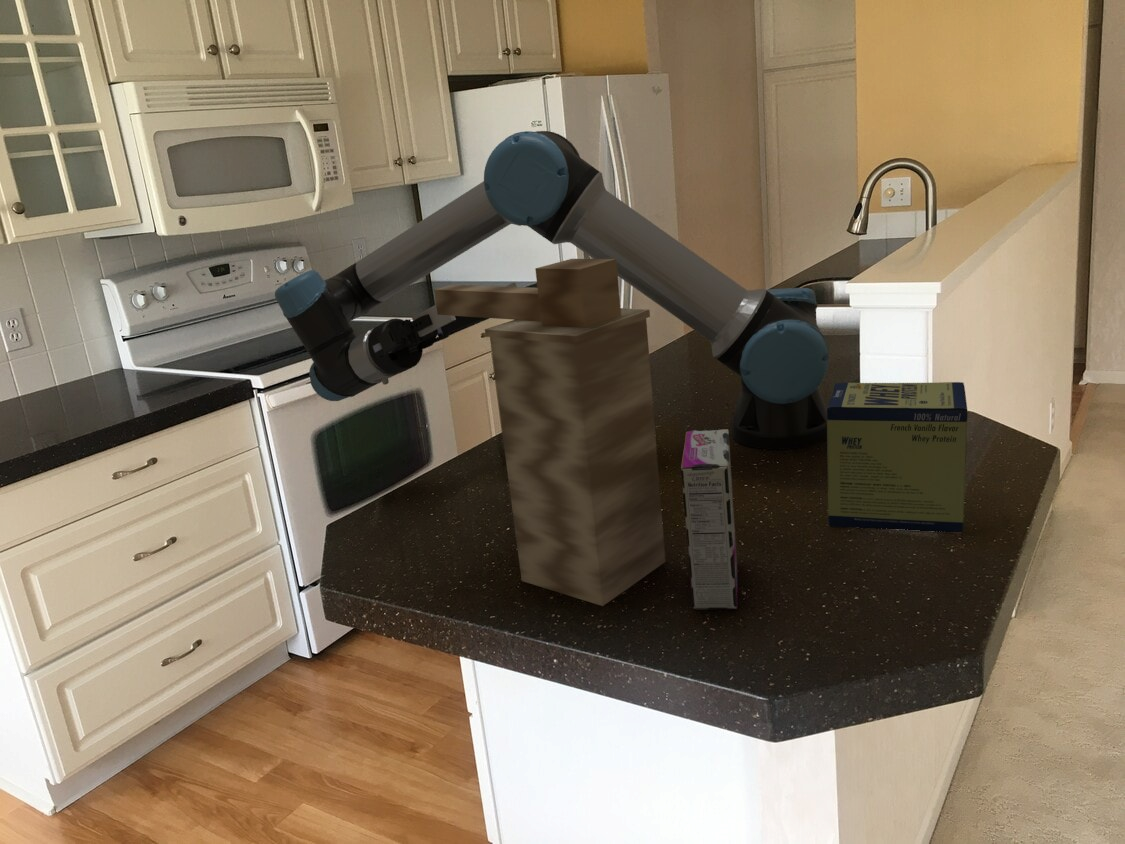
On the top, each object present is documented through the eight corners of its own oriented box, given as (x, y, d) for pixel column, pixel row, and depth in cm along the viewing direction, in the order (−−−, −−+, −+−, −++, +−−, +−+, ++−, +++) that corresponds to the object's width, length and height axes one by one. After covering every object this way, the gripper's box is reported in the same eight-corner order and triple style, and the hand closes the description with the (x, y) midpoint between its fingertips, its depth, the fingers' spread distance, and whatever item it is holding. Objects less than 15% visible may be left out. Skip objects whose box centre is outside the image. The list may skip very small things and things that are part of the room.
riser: (518, 581, 108) (484, 329, 99) (585, 539, 117) (560, 305, 108) (603, 608, 100) (575, 336, 91) (669, 561, 109) (649, 309, 100)
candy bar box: (694, 563, 108) (684, 429, 103) (737, 562, 107) (730, 427, 102) (689, 611, 98) (679, 465, 93) (738, 611, 97) (730, 463, 92)
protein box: (965, 535, 108) (969, 406, 103) (826, 528, 113) (824, 406, 109) (962, 499, 117) (965, 380, 112) (834, 495, 123) (831, 381, 118)
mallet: (428, 317, 110) (420, 266, 108) (464, 306, 114) (457, 257, 112) (585, 328, 94) (579, 269, 93) (621, 315, 99) (616, 258, 97)
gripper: (454, 356, 145) (551, 310, 132) (330, 396, 126) (430, 347, 112) (436, 311, 145) (532, 260, 131) (309, 344, 126) (406, 289, 112)
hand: (485, 300), depth 122 cm, fingers open, 13 cm apart
